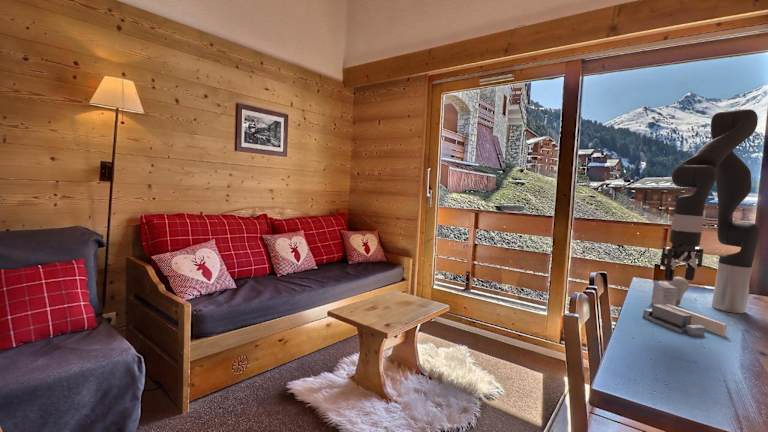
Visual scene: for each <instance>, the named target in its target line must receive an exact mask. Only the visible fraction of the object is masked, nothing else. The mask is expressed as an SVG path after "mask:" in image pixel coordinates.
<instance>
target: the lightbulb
mask: <svg viewBox="0 0 768 432" xmlns="http://www.w3.org/2000/svg"><path fill="white" fill-rule="evenodd" d="M668 284H669V285H671V286H673V287H675V288H677V289H678V291H677V299H676V306H678V305H679V306H680V305H681V301H682V299H683V296H684V294H686V292H687V291H688V290H689V287H690V285H689V284H690V283H689V282H688V280H686V279H685V277H681V276H674V277H673V281H668Z"/></svg>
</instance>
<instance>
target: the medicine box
mask: <svg viewBox="0 0 768 432" xmlns="http://www.w3.org/2000/svg"><path fill="white" fill-rule="evenodd" d="M677 291H678V289H677V288H675V287H673V286H671V285H669V283H666V282H660V281H658V282H657V281H656V282H653V288H652V295H651V305H652V306H653V305H659V304H661V305H664V306H665V305H666V304H669V305H672V306H675V307H677V305H676V299H677Z"/></svg>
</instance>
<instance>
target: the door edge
mask: <svg viewBox="0 0 768 432" xmlns="http://www.w3.org/2000/svg"><path fill="white" fill-rule="evenodd" d="M665 306H667V307H670V308H672V309H675V310H678V311H681V312H684V313H687V314H689V315H692V318H691V325H701V326H703V327H706V328H705V331H708V332H710V333H713V334H716V335H719V336H723V337H725V336H726V335H727V328H728V324H727V323H725V322H721V321H719V320H717V319H713V318H710V317H706V316H703V315H702V314H698V313H696V312H695V313H694V312H693V311H690V310H687V309H684V308H681V307H678V306H672V305H669V304H666V305H665Z"/></svg>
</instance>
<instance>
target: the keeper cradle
mask: <svg viewBox="0 0 768 432" xmlns="http://www.w3.org/2000/svg"><path fill="white" fill-rule="evenodd" d="M651 314H652V308H644V309H643V314H642V317H644V319H646V320H647V321H650V322H652V323H654V324H657V325H660V326H663V327H665V328H667V329H670V330H672V331H675V332H677V333H678V334H685V335H688V336H691V337H698V336H705V331H706V330H705V328H706V327H703V326H701V325H692V324H691V325H686V331H684V330H683V329H680V328H678V327H675V326H673V325H670V324H667V323H665V322H662V321H660V320H657V319H655V318H652V317H651Z"/></svg>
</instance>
